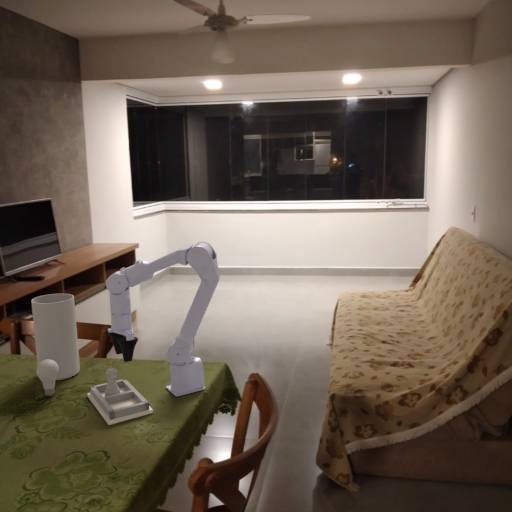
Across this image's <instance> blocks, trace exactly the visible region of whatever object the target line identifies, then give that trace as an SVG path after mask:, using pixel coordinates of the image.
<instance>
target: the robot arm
mask: <svg viewBox="0 0 512 512" xmlns="http://www.w3.org/2000/svg"><path fill="white" fill-rule="evenodd" d="M178 264H180V265H182V266H187V265H189V266H190V267H191V268H192V269H193V270H194V271H195V272H196V273H197V275H198V277H199V279H200V284H199V286H198V289H197V290H196V293H195V296H194V298H193V300H192V302H191V305H190V307H189V310H188V312H187V315H186V316H185V319H184V321H183V324H182V326H181V329H180V331H179V333H178V334H177V336H176V337H175V339H174V340H173V342H172V344H171V345H170V346H169V348H168V349H167V355H166V356H167V358H168V360H169V377H170V384H169V385H166V386H165V388H166V389H167V390H168V391H169V392H170V393H171V394H172V395H173V396H174V397H180V396H181V397H182V396H185V395H188V394H192V393H196V392H200V391H204V390H206V386H205V373H204V372H205V371H204V364H203V361H202V359H201V358H200V357H199V356H194V354H193V353H192V352H193V351H194V349H195V345H196V344H195V343H196V342H195V339H196V336H197V333H198V331H199V328H200V326H201V324H202V321H203V319H204V316H205V314H206V311H207V309H208V308H209V305H210V302H211V300H212V298H213V295H214V293H215V291H216V288H217V286H218V283H219V281H220V278H221V276H220V271H219V265H218V264H219V263H218V256H217V253H216V251H215V249H214V247H213V246H212V245H211V243H209V242H206V241H199V242H197V243H195V245H194V244H191V245H190V244H189V245H187V246H184V247H181V248H178V249H176V250H173V251H172V252H169V253H167V254H165V255H163V256H160V257H159V258H157V259H155V260H152V261H147V260H143V259H142V260H140V259H138V260H136V261H134V264H132V265H130V266H128V267H124V266H123V267H121V268H120V270H118V271H115V272H113V273H112V274H110V275H109V276H108V277H107V279H106V281H105V287H106V289H107V291H109V292H108V293H109V307H110V309H109V310H110V323H111V326H110V328H107V334H108V335H109V337H110V340H111V341H112V344H113V349H114V352H115V354H116V355H122V359H123V361H124V363H128V362H132V361H133V357H134V352H135V349H136V345H137V343H138V342H139V337H138V336H134V335H135V333H134V332H133V330H134V326H133V323H132V322H133V320H132V305H131V294H130V288H134V287H136V286H138V285H141V284H142V283H146V282H147V281H149V280H151V279H153V277H154V274H155V273H157V272H160V271H163V270H164V269H167V268H169V267H172V266H175V265H178Z"/></svg>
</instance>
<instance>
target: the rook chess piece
mask: <svg viewBox="0 0 512 512" xmlns="http://www.w3.org/2000/svg"><path fill="white" fill-rule="evenodd" d="M117 372H118V371H117V370H116V367H114V366H113V367H111V366H110V367H107V369H105V375H106V381H107V382H106V383H107V387H106V389H105V396H110V395H114V394H118V393H121V392H120V388H119V387H118V385H117V382H116V381H117V375H116V374H117Z"/></svg>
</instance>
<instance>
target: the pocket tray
mask: <svg viewBox="0 0 512 512" xmlns="http://www.w3.org/2000/svg"><path fill="white" fill-rule="evenodd" d="M116 382H117V385H118V387H119V388H120V392H121V393H118V394H114V395H110V396H105V389H106V387H107V382H104V383H99V384H95V385H91V386H89V389H90V390H89V391H90V392H87V399H88V400H89V401H90V402H91V404H92V405H93V406H94V407H95V409H96V410H97V411H98V413H99V414H100V415H101V417H102V418H103V420H104V421H105V422H106V424H107V425H108V426H112V425H115V424H118V423H122V422H125V421H128V420H133V419H136V418H139V417H143V416H148V415H150V414H153V413H154V409H153V408H152V407H151V406H150V402H149V401H148V400H147V399H146V398H145V397H144V396H143V395H142V393H140V392H139V391H138V390H137V389H136V388H135V387H134V386H133V384H131V383H130V381H128V380H127V379H126V378H121V379H118V380H117V379H116Z"/></svg>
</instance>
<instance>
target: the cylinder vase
mask: <svg viewBox="0 0 512 512" xmlns="http://www.w3.org/2000/svg"><path fill="white" fill-rule="evenodd" d="M31 312H32V321H33V331H34V341H35V342H34V343H35V353H36V361H37V365H38V364H39V363H40V362H42V361H43V360H46V359H50V360H54V361H55V362H56V363H57V364H58V366H59V373H58V375H57V377H56V380H57V381H63V380H66V379H70V378H73V377H74V376H76V375H77V374H78V373H79V372H80V369H81V368H80V367H81V366H80V353H79V343H78V342H79V341H78V328H77V319H76V316H77V315H76V305H75V296H74V295H73V294H70V293H51V294H44V295H39V296H36V297H33V298H32V299H31ZM72 376H73V377H72ZM56 380H55V382H56Z"/></svg>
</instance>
